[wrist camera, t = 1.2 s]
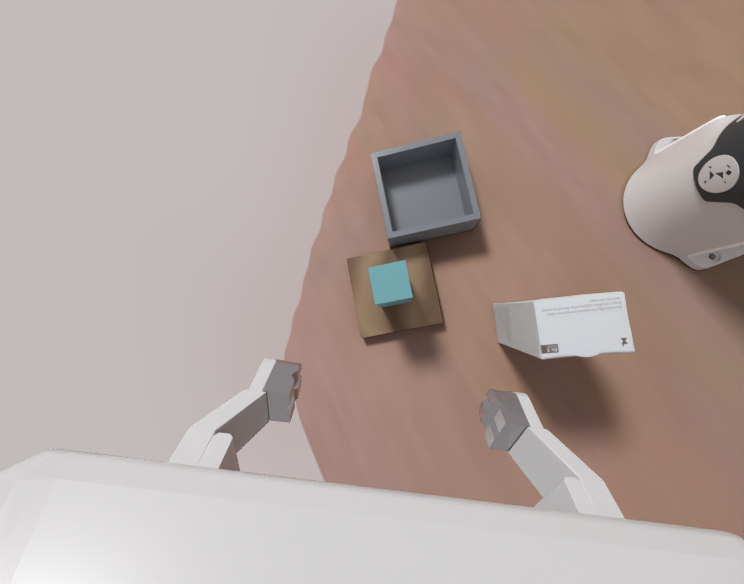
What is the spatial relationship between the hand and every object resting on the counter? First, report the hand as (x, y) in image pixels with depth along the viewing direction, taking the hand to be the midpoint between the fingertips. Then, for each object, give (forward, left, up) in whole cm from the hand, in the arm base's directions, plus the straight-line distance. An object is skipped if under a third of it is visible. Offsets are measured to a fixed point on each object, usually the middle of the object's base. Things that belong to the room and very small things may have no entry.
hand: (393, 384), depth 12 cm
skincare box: (-17, +1, -31) cm, 35 cm away
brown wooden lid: (0, -7, -31) cm, 31 cm away
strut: (0, -7, -29) cm, 30 cm away
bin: (-7, -20, -31) cm, 37 cm away
